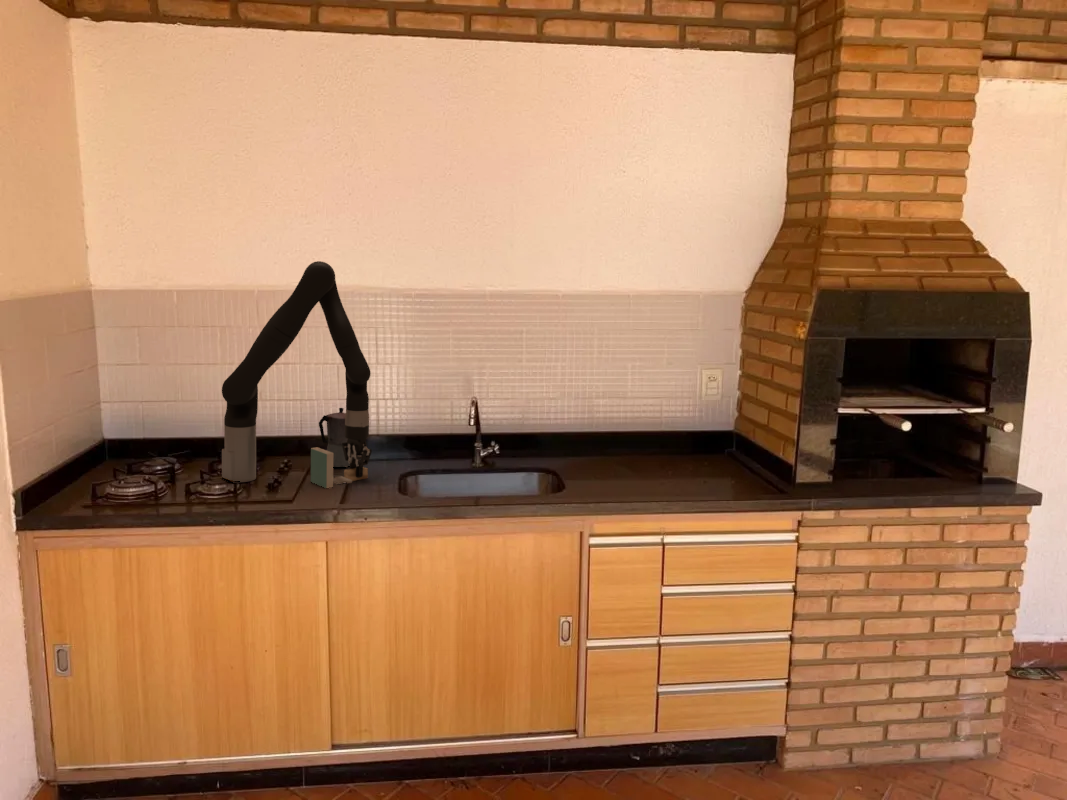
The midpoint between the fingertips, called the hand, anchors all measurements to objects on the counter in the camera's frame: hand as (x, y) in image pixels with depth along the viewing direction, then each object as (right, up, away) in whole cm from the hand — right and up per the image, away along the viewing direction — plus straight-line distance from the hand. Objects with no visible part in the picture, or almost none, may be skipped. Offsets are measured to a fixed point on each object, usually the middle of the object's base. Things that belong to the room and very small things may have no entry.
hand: (356, 475), depth 260 cm
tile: (-8, +3, -10) cm, 13 cm away
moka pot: (-10, +2, +15) cm, 18 cm away
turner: (-2, -1, -2) cm, 3 cm away
